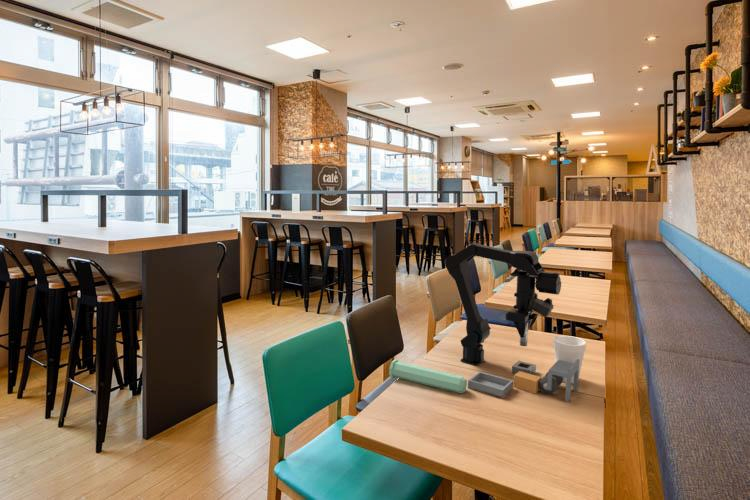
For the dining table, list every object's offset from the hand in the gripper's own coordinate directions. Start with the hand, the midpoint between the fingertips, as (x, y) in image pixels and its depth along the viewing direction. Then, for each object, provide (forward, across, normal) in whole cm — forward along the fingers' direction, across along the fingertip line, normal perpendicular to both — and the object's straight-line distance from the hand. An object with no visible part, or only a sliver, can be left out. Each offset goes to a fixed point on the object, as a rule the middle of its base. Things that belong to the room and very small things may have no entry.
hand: (523, 336), depth 145 cm
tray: (+13, -17, +4) cm, 22 cm away
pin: (+3, 0, 0) cm, 3 cm away
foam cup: (+13, +4, -13) cm, 19 cm away
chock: (+13, -10, -5) cm, 17 cm away
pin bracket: (+13, +1, 0) cm, 13 cm away
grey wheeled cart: (+13, -7, -13) cm, 20 cm away
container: (+13, -26, +21) cm, 36 cm away
